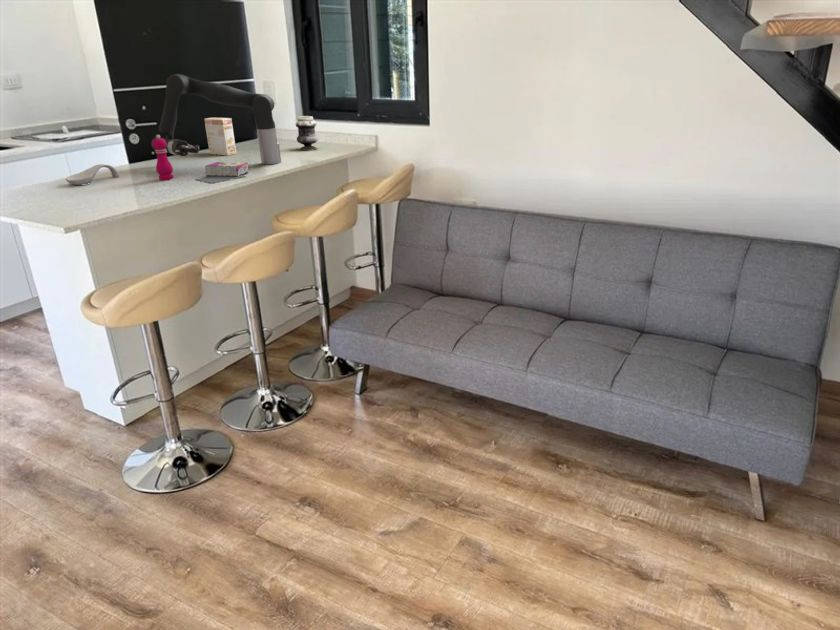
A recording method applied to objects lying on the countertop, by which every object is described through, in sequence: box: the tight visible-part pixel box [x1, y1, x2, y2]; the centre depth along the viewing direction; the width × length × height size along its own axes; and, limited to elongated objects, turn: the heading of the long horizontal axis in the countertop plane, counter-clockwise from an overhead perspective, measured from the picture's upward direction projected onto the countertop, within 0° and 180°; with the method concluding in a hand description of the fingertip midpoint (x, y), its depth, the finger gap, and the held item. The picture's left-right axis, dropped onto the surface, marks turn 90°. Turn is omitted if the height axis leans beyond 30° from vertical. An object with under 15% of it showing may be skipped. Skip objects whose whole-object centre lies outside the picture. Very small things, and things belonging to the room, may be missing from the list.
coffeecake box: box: [204, 117, 237, 156], centre depth 346 cm, size 15×7×20 cm, turn 58°
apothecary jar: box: [295, 115, 319, 151], centre depth 353 cm, size 12×12×18 cm
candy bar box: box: [204, 161, 250, 177], centre depth 291 cm, size 11×5×16 cm
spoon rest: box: [65, 163, 120, 186], centre depth 285 cm, size 24×12×7 cm, turn 150°
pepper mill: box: [152, 134, 174, 181], centre depth 283 cm, size 7×7×20 cm
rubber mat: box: [194, 174, 247, 184], centre depth 284 cm, size 18×14×1 cm
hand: (196, 150), depth 293 cm, fingers closed
